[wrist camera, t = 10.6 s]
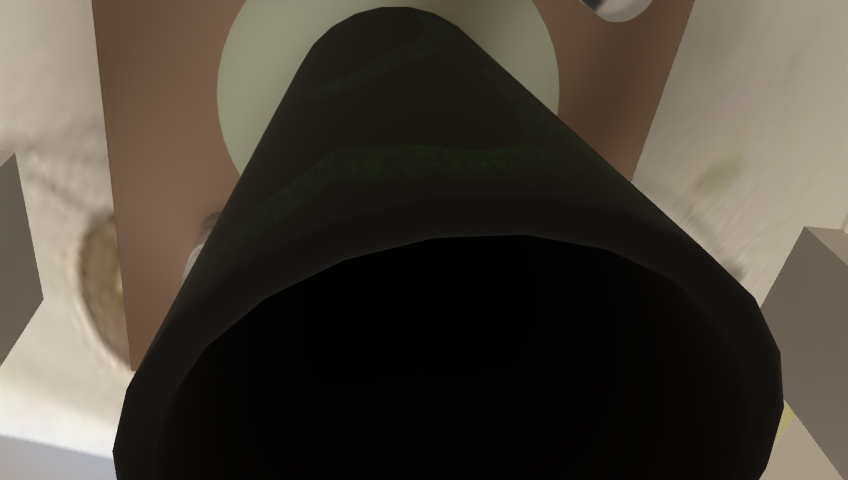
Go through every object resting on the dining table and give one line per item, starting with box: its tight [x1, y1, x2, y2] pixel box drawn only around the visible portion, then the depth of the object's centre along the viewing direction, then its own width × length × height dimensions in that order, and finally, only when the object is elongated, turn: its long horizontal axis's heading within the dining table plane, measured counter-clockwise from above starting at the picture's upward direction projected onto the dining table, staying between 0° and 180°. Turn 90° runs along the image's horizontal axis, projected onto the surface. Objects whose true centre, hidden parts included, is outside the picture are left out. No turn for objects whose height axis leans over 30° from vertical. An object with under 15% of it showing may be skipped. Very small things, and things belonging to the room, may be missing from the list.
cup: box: [112, 7, 784, 480], centre depth 13 cm, size 8×8×12 cm
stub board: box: [92, 0, 695, 371], centre depth 17 cm, size 15×20×4 cm
